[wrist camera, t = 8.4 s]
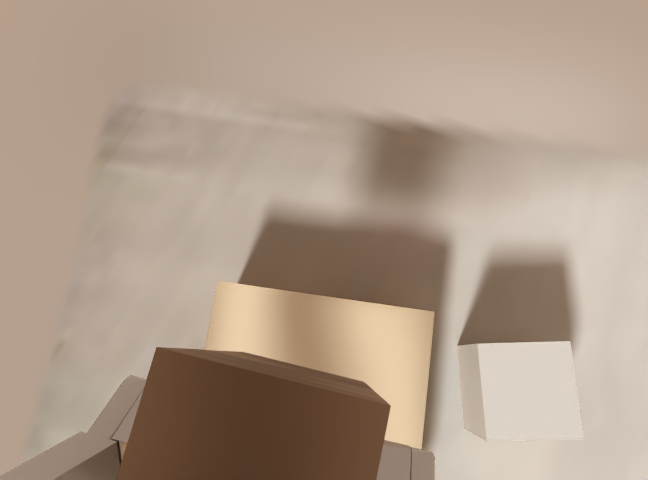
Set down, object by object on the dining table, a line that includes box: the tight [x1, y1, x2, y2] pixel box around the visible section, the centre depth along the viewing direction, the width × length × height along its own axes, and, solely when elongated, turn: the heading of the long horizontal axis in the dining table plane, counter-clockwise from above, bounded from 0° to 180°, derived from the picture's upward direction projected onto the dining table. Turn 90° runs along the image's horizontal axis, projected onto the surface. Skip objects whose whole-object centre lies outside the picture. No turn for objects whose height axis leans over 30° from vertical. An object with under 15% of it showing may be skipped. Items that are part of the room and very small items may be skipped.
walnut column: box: [116, 347, 391, 480], centre depth 12 cm, size 4×4×8 cm
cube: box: [457, 341, 584, 441], centre depth 23 cm, size 4×4×4 cm
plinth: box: [204, 281, 435, 449], centre depth 23 cm, size 10×10×4 cm
